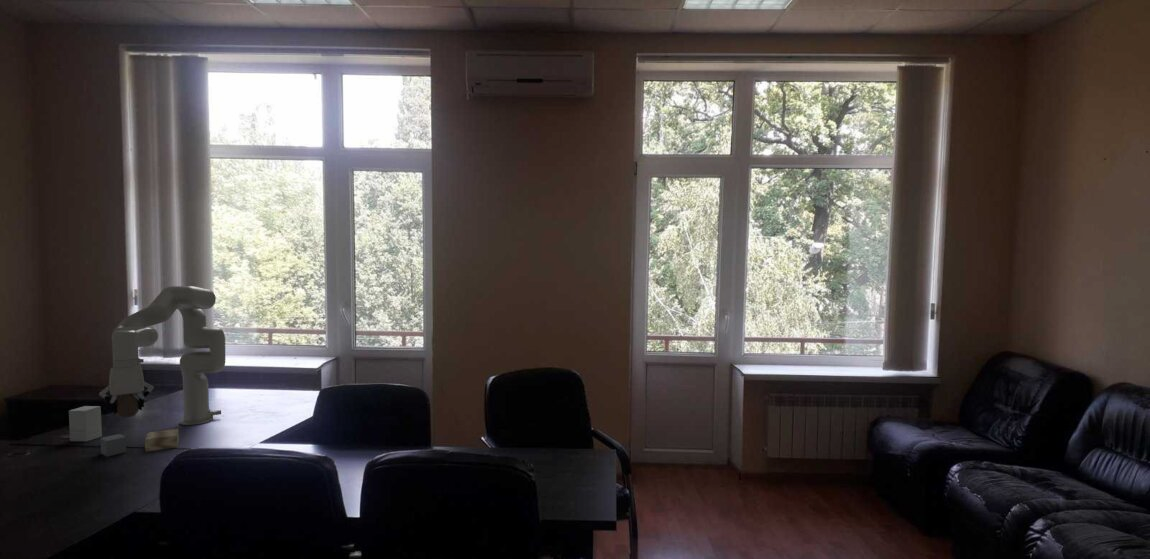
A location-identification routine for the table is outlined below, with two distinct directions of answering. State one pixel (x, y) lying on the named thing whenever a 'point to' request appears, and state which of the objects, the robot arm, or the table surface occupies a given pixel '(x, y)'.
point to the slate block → (113, 445)
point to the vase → (127, 406)
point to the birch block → (161, 440)
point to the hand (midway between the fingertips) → (127, 410)
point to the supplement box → (85, 423)
